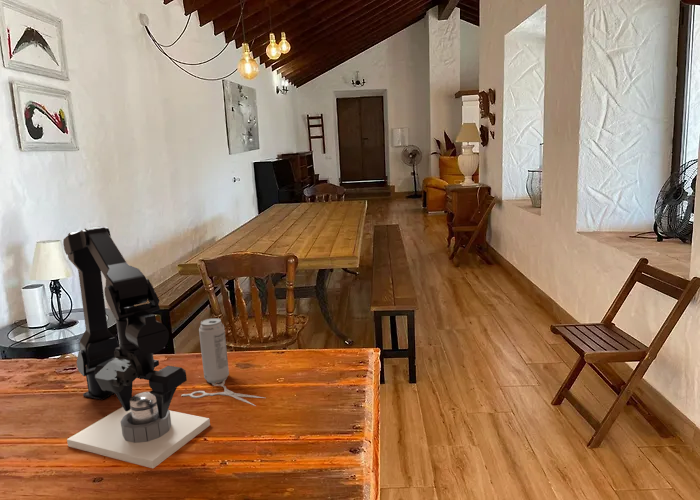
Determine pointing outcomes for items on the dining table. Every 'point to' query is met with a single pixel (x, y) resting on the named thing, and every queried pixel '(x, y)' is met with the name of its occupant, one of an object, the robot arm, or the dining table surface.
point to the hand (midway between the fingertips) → (145, 414)
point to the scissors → (226, 392)
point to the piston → (144, 408)
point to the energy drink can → (213, 350)
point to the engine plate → (137, 451)
